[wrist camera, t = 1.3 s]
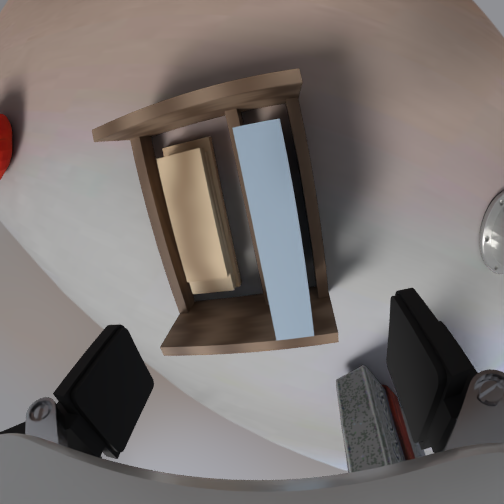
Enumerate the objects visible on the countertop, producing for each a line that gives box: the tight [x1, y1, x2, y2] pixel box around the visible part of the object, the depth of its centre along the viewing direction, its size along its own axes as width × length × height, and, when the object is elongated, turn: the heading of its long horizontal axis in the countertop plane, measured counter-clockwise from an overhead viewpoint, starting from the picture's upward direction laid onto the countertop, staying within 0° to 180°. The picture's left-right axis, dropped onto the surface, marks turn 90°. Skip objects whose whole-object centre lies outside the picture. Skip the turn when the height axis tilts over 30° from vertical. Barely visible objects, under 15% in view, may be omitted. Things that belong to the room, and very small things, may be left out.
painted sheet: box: [232, 119, 314, 340], centre depth 26 cm, size 3×16×14 cm, turn 11°
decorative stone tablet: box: [336, 365, 426, 473], centre depth 34 cm, size 19×6×30 cm
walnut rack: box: [92, 68, 338, 356], centre depth 29 cm, size 19×24×10 cm
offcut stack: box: [157, 137, 241, 294], centre depth 32 cm, size 6×18×5 cm, turn 11°
